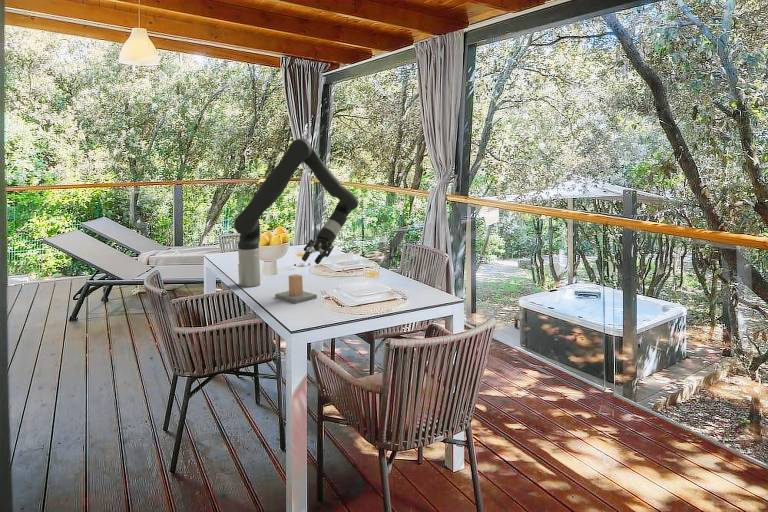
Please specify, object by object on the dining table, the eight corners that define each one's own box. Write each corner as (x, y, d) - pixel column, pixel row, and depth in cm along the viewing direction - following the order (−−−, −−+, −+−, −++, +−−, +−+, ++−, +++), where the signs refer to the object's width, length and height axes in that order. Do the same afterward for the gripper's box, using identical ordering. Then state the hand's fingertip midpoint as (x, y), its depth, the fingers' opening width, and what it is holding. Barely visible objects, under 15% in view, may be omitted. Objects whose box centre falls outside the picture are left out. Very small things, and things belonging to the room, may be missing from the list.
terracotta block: (289, 294, 229) (288, 275, 228) (296, 292, 232) (296, 274, 231) (295, 296, 227) (294, 277, 225) (302, 294, 229) (302, 275, 228)
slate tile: (275, 297, 230) (275, 294, 230) (295, 292, 238) (295, 289, 238) (296, 303, 221) (296, 299, 221) (316, 298, 229) (316, 294, 229)
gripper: (313, 225, 241) (294, 254, 235) (335, 228, 231) (315, 258, 225) (323, 235, 246) (304, 264, 240) (345, 239, 236) (325, 269, 230)
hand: (309, 261), depth 232 cm, fingers open, 8 cm apart
